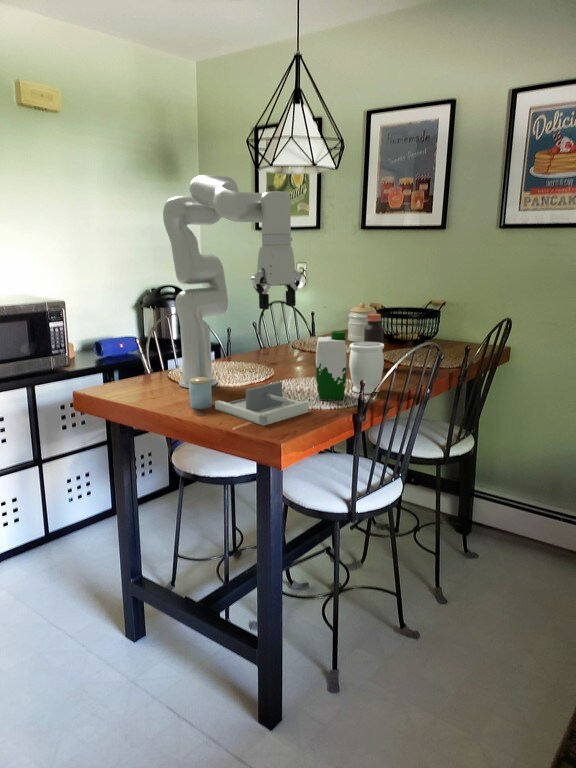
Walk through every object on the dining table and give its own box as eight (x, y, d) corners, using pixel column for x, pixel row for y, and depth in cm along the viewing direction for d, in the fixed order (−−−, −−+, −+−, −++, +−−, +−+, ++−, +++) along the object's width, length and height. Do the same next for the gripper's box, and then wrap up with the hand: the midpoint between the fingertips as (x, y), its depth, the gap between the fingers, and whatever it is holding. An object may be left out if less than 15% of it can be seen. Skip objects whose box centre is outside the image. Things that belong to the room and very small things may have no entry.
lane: (215, 409, 162) (214, 399, 161) (259, 397, 173) (259, 388, 172) (263, 425, 147) (263, 414, 146) (308, 412, 158) (308, 401, 157)
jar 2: (379, 386, 184) (380, 340, 180) (385, 394, 174) (387, 346, 170) (346, 387, 184) (347, 341, 180) (351, 395, 174) (352, 347, 170)
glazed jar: (185, 405, 166) (184, 379, 164) (203, 401, 170) (202, 375, 168) (198, 410, 161) (196, 383, 159) (216, 405, 166) (215, 379, 164)
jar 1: (352, 343, 260) (353, 304, 256) (344, 338, 273) (344, 301, 268) (379, 341, 263) (380, 303, 258) (369, 337, 275) (370, 300, 271)
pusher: (246, 412, 155) (245, 389, 153) (279, 403, 163) (279, 381, 161) (268, 420, 148) (267, 396, 147) (302, 410, 157) (302, 387, 155)
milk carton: (346, 401, 168) (347, 334, 163) (316, 401, 168) (316, 334, 164) (344, 393, 177) (345, 329, 172) (315, 393, 177) (315, 329, 172)
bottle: (371, 365, 214) (372, 312, 209) (385, 368, 209) (387, 314, 204) (359, 368, 209) (360, 314, 204) (374, 371, 204) (376, 316, 199)
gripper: (290, 241, 156) (291, 303, 160) (241, 242, 145) (243, 309, 149) (309, 241, 151) (310, 305, 155) (260, 242, 139) (262, 311, 144)
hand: (277, 307), depth 152 cm, fingers open, 9 cm apart
